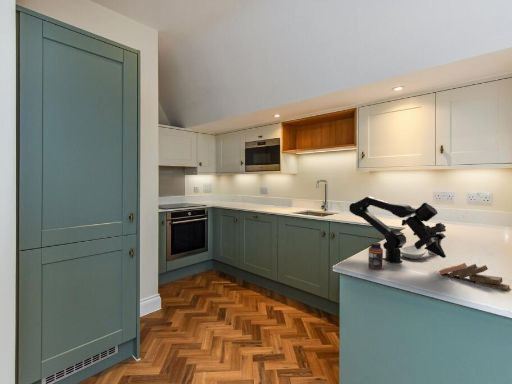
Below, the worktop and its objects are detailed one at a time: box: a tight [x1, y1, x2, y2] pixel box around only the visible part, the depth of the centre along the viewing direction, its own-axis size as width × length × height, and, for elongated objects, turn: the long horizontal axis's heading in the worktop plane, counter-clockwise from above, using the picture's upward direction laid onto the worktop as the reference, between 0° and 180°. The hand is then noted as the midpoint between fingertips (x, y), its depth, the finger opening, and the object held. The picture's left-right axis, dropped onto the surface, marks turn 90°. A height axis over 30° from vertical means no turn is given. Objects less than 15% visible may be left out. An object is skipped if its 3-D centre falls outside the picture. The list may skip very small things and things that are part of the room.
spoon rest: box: [399, 243, 437, 260], centre depth 147 cm, size 24×12×7 cm, turn 118°
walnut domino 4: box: [475, 281, 510, 292], centre depth 108 cm, size 2×5×9 cm
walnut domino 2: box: [457, 264, 489, 280], centre depth 112 cm, size 2×5×9 cm
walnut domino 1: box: [448, 263, 478, 278], centre depth 115 cm, size 2×5×9 cm
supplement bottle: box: [367, 241, 384, 271], centre depth 127 cm, size 6×6×11 cm
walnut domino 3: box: [468, 273, 503, 285], centre depth 109 cm, size 2×5×9 cm
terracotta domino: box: [438, 262, 468, 275], centre depth 118 cm, size 2×5×9 cm
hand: (444, 257), depth 120 cm, fingers closed
